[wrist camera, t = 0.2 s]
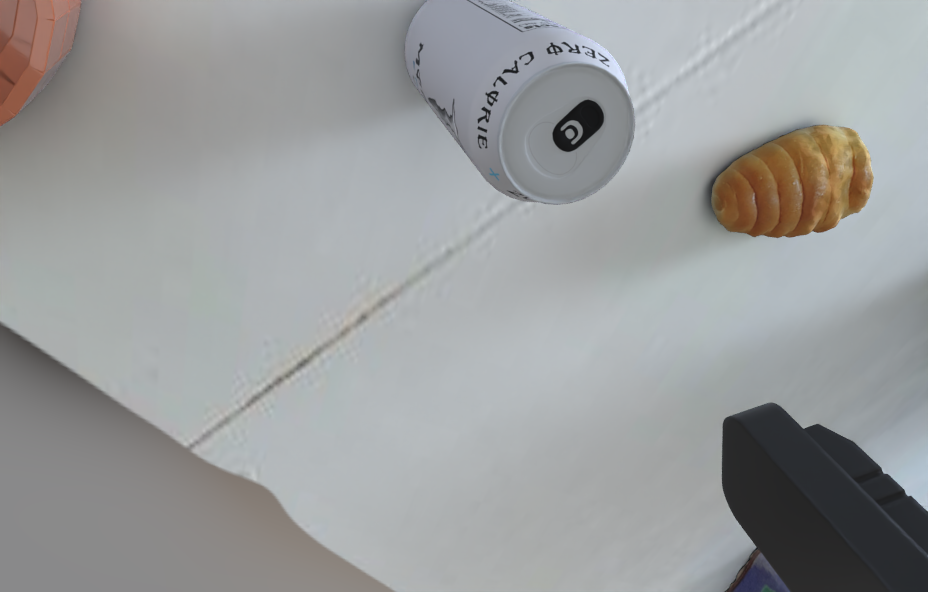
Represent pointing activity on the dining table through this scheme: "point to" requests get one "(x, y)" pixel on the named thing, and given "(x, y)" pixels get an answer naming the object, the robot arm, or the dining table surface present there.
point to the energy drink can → (522, 97)
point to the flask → (758, 577)
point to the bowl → (32, 48)
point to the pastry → (795, 184)
